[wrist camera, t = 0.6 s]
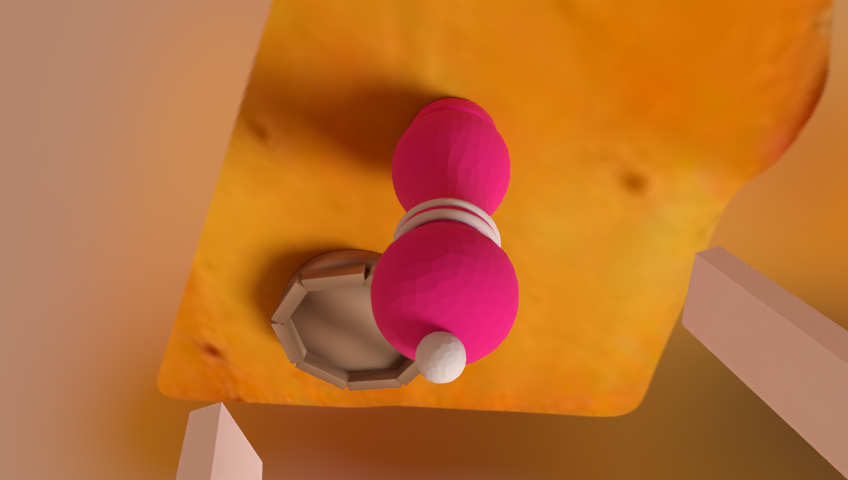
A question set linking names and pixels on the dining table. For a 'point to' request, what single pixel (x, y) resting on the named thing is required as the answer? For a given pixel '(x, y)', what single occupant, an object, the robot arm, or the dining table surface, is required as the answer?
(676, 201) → the dining table surface
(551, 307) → the dining table surface
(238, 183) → the dining table surface
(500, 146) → the pepper mill
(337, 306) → the bowl
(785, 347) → the robot arm
